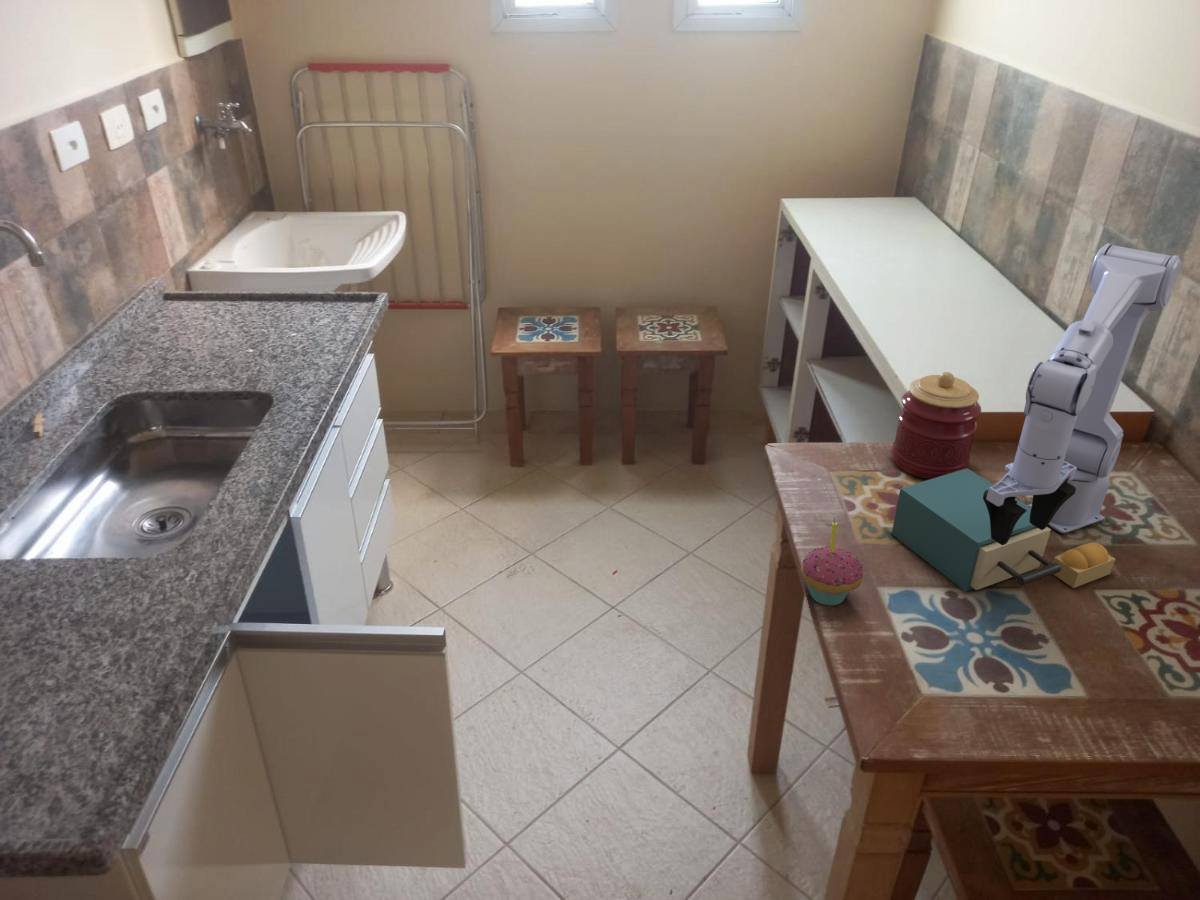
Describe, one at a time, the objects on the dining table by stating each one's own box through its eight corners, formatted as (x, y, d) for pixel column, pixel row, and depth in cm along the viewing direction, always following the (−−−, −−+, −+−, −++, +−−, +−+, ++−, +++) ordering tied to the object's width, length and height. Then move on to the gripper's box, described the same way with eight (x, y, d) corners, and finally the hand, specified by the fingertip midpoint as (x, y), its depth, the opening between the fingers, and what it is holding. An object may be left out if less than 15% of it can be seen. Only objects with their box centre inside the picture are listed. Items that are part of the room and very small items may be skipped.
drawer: (1067, 586, 125) (1080, 547, 122) (1003, 611, 121) (1014, 571, 117) (965, 516, 140) (974, 480, 137) (905, 536, 136) (912, 499, 132)
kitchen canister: (956, 489, 149) (978, 396, 140) (881, 468, 155) (897, 378, 146) (975, 456, 158) (996, 367, 149) (903, 437, 164) (919, 351, 155)
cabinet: (1034, 566, 130) (1048, 518, 126) (965, 591, 126) (978, 543, 121) (956, 513, 143) (967, 468, 138) (891, 534, 138) (900, 488, 133)
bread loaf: (1085, 558, 132) (1093, 534, 130) (1110, 574, 129) (1119, 549, 126) (1049, 572, 129) (1057, 547, 127) (1073, 588, 126) (1081, 563, 124)
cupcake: (790, 578, 129) (799, 510, 122) (847, 574, 129) (859, 507, 123) (807, 617, 121) (818, 547, 115) (867, 613, 122) (881, 543, 116)
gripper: (1054, 423, 121) (1030, 505, 127) (977, 448, 115) (957, 532, 122) (1100, 446, 115) (1072, 530, 122) (1022, 473, 110) (998, 560, 116)
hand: (1017, 533), depth 122 cm, fingers open, 7 cm apart
